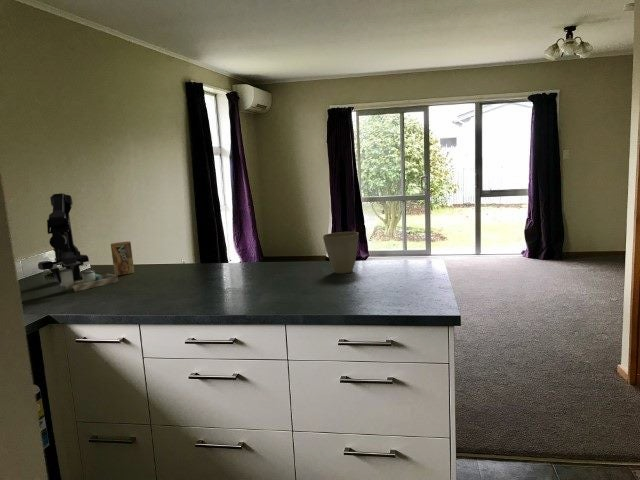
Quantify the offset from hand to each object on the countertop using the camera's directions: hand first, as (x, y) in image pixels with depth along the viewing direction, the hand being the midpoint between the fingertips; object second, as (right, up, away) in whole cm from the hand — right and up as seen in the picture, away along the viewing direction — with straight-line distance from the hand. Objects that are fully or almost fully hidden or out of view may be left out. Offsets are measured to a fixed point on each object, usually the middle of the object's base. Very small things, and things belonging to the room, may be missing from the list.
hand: (66, 281), depth 220 cm
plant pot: (+117, +4, -1) cm, 117 cm away
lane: (+7, -2, +8) cm, 11 cm away
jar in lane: (+7, -2, +7) cm, 10 cm away
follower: (+9, -2, +10) cm, 14 cm away
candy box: (+13, +1, +30) cm, 33 cm away
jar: (0, -1, 0) cm, 1 cm away
